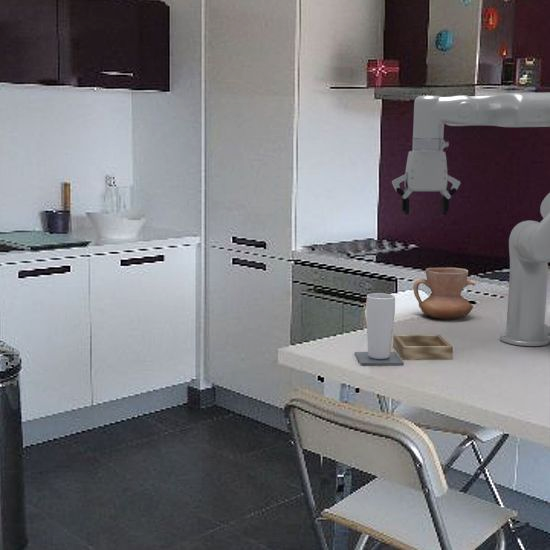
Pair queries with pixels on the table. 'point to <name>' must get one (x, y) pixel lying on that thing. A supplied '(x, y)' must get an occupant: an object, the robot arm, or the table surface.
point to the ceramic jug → (445, 293)
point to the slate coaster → (368, 361)
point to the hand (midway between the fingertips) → (424, 214)
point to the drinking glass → (380, 324)
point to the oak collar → (422, 347)
